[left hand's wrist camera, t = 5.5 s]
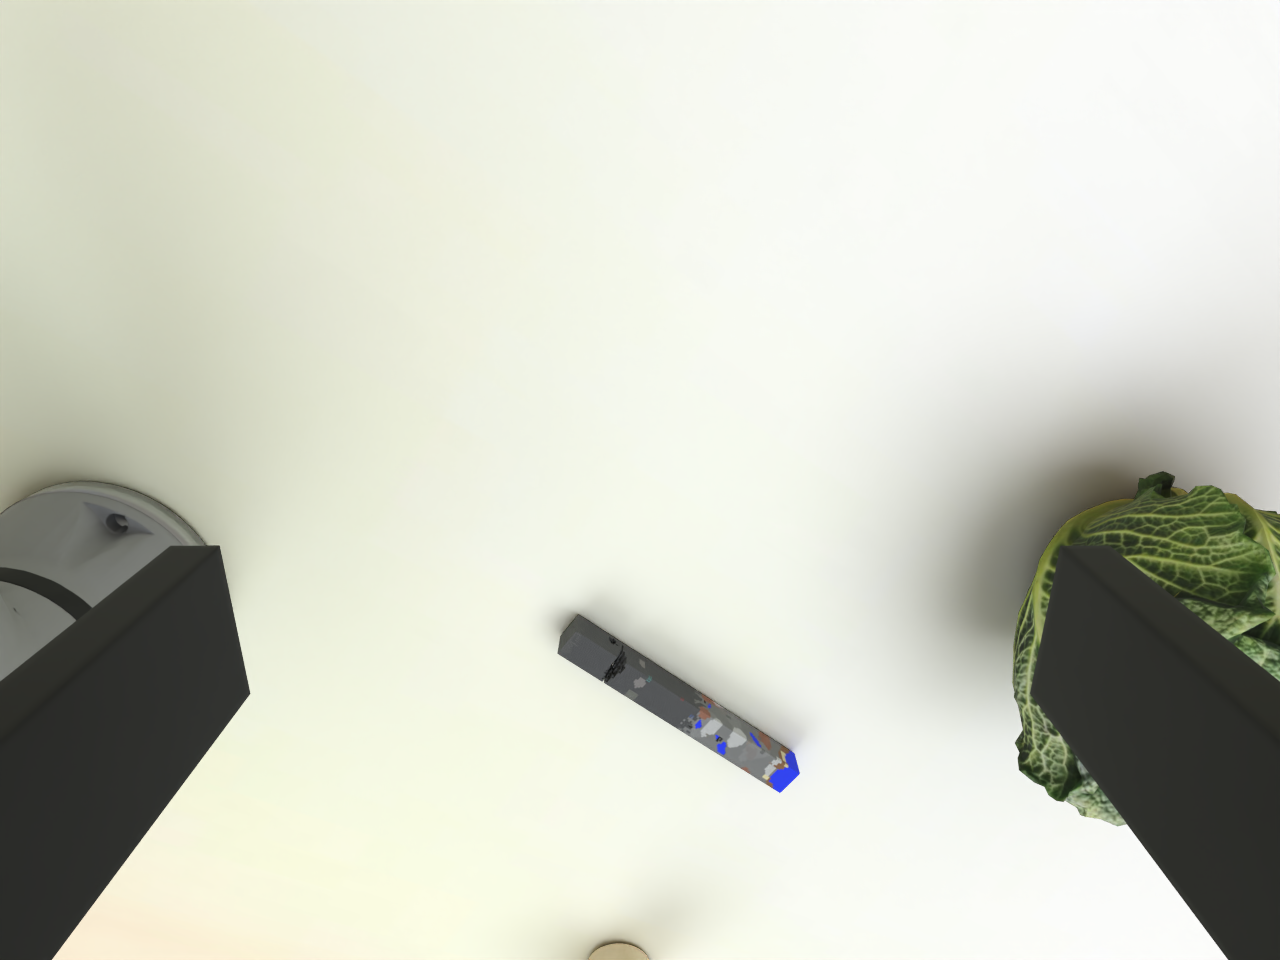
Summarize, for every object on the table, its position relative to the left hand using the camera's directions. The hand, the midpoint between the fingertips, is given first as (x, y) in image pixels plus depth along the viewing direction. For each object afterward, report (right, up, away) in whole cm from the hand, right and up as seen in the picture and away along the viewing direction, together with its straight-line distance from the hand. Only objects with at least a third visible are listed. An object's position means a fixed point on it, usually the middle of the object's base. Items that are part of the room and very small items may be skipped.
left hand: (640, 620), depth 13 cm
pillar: (+3, -13, +45) cm, 47 cm away
